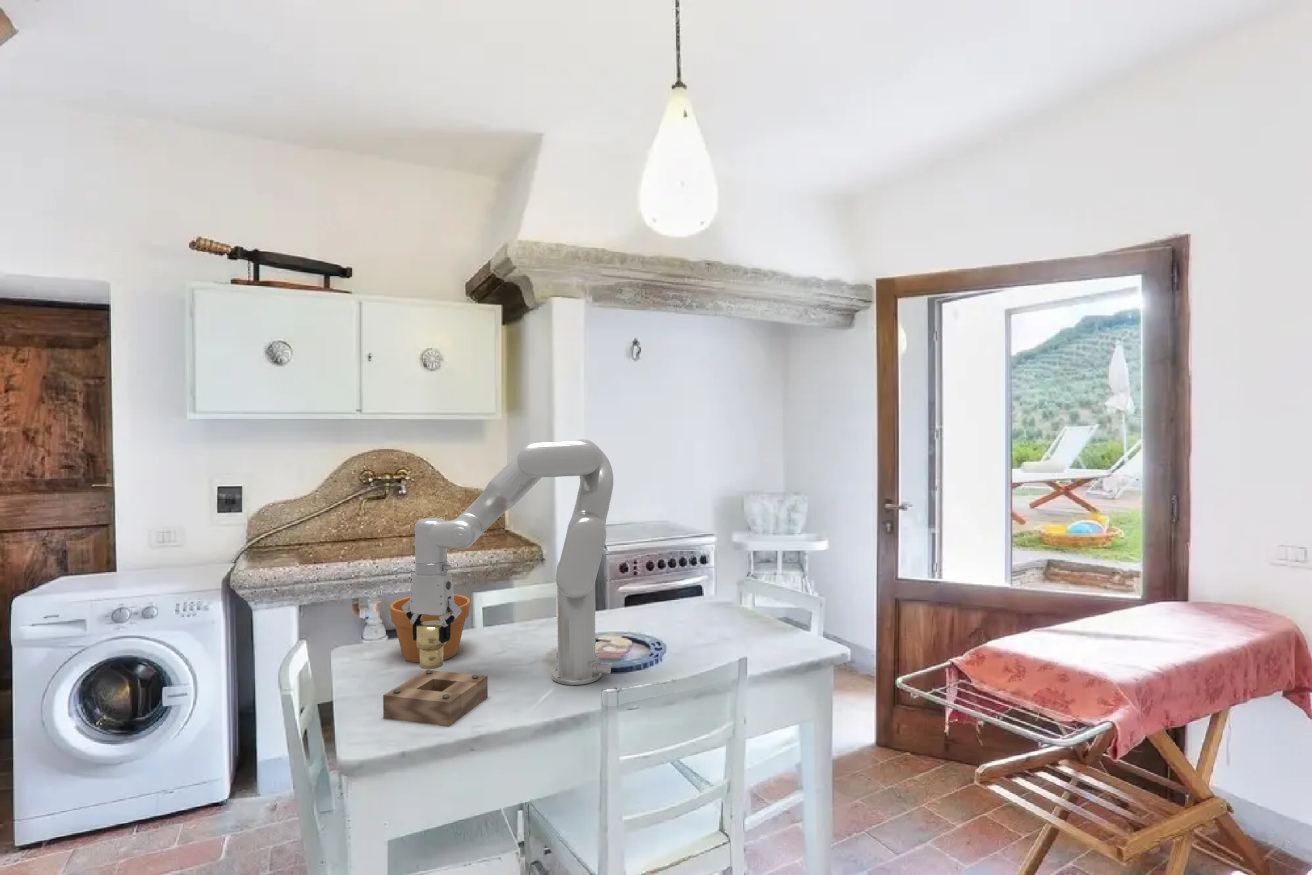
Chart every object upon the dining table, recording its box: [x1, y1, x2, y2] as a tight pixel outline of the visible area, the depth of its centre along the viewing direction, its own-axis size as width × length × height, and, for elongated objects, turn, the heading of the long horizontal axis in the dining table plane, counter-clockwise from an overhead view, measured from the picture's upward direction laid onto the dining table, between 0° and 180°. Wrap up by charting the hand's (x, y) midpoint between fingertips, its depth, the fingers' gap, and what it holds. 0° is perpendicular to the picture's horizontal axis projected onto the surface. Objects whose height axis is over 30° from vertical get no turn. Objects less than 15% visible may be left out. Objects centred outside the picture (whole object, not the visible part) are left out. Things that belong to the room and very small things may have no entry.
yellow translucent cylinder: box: [416, 620, 446, 670], centre depth 171 cm, size 7×7×10 cm
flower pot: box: [389, 593, 471, 664], centre depth 193 cm, size 21×21×15 cm
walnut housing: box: [382, 669, 489, 727], centre depth 154 cm, size 16×16×6 cm
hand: (431, 639), depth 171 cm, fingers closed on yellow translucent cylinder, 7 cm apart
